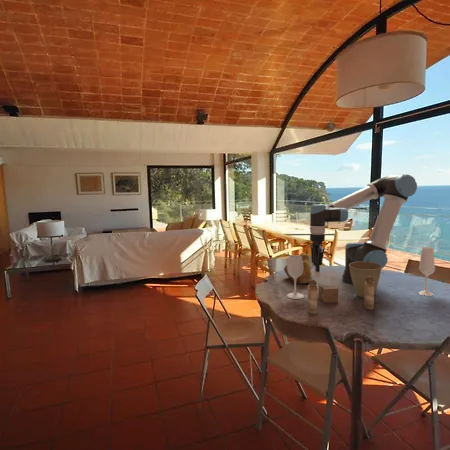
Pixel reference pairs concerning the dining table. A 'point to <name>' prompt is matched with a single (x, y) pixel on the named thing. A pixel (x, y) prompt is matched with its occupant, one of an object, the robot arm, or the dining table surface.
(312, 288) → the oak mill
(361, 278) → the plant pot
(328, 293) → the tan wooden cube
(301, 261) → the wineglass
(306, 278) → the rough brown rock
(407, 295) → the dining table surface
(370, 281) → the oak mill
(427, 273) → the champagne flute
